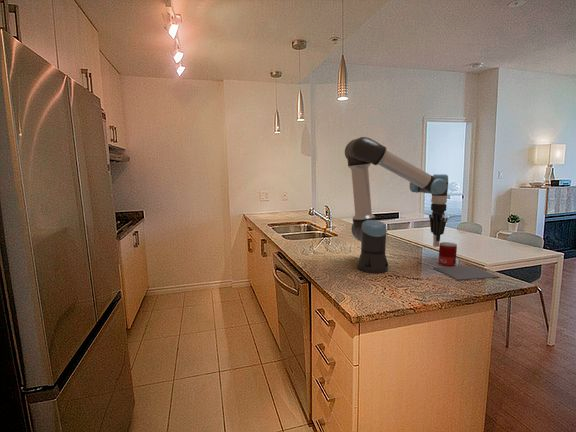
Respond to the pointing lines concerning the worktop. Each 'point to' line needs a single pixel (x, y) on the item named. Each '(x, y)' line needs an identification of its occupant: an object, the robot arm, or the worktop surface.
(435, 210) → the robot arm
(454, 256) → the canned food
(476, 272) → the rubber mat
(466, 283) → the worktop surface
